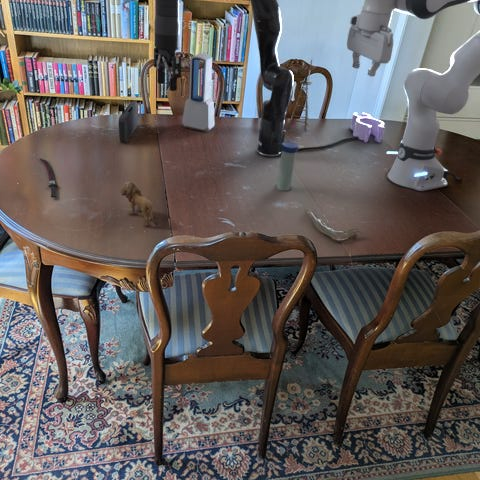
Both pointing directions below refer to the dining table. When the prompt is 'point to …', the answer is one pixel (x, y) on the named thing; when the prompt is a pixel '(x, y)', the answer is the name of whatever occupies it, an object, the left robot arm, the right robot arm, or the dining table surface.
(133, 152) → the dining table surface
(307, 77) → the miniature windmill
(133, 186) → the lion figurine
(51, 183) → the sword
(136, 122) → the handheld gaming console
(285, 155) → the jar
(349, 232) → the jawbone
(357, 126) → the lavender notched block
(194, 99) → the electronic device
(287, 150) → the lid
